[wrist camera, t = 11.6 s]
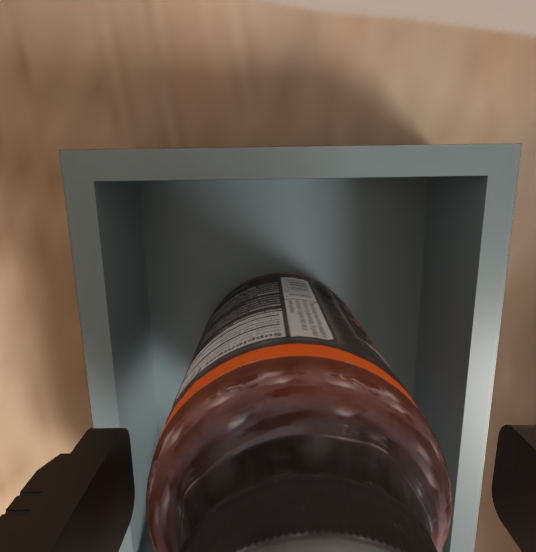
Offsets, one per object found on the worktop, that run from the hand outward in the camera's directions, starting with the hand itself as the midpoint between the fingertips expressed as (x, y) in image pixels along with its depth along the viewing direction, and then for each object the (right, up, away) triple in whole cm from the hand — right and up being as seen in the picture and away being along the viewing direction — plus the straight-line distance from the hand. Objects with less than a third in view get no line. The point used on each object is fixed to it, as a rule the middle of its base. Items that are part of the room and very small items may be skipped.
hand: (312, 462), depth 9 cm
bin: (0, +2, +8) cm, 8 cm away
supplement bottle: (0, +1, +7) cm, 8 cm away
